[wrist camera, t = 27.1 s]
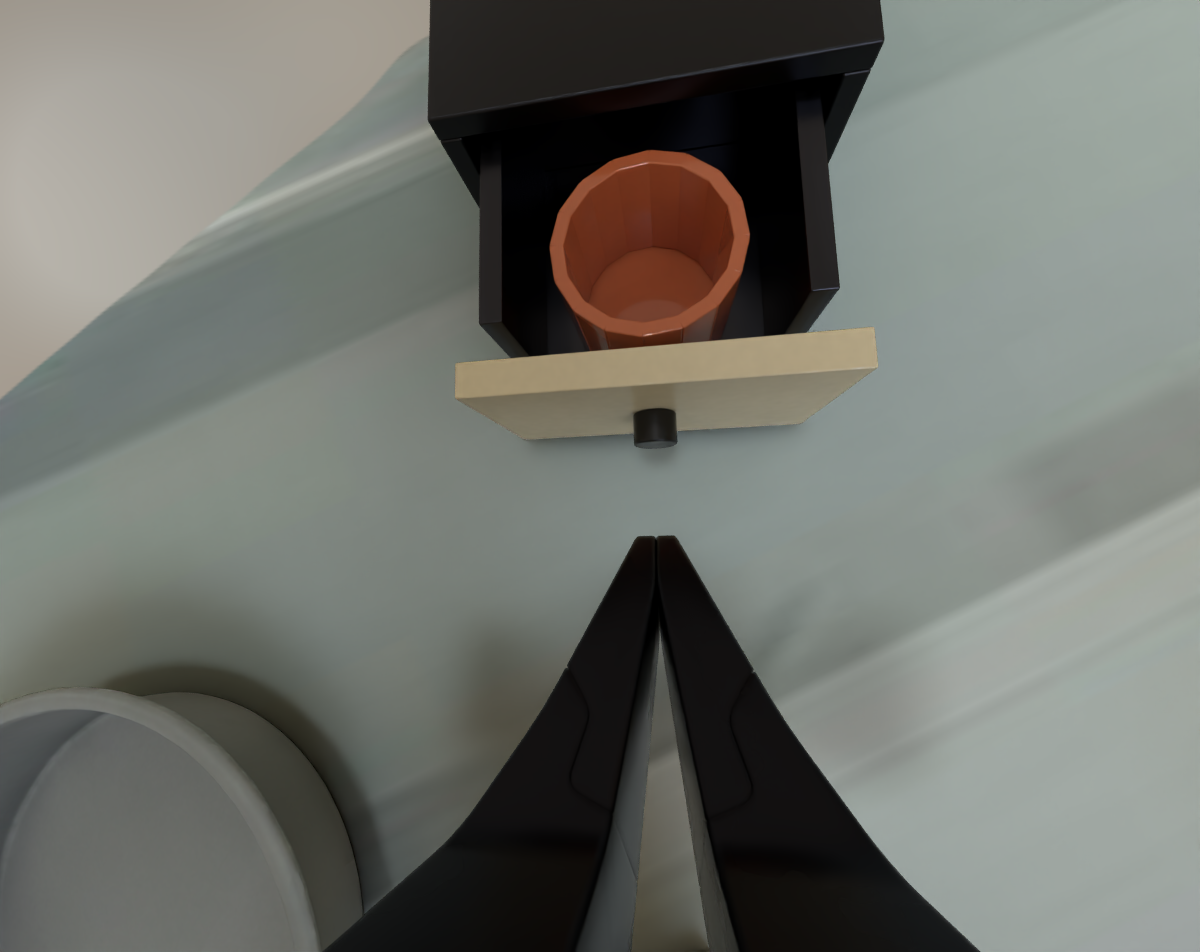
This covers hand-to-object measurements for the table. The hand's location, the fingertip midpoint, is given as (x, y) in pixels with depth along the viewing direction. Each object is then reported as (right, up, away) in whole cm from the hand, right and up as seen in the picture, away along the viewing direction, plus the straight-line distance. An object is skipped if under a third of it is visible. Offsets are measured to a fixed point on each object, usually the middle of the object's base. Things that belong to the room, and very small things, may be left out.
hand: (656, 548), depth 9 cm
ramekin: (+1, +9, +9) cm, 13 cm away
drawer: (+1, +10, +11) cm, 14 cm away
